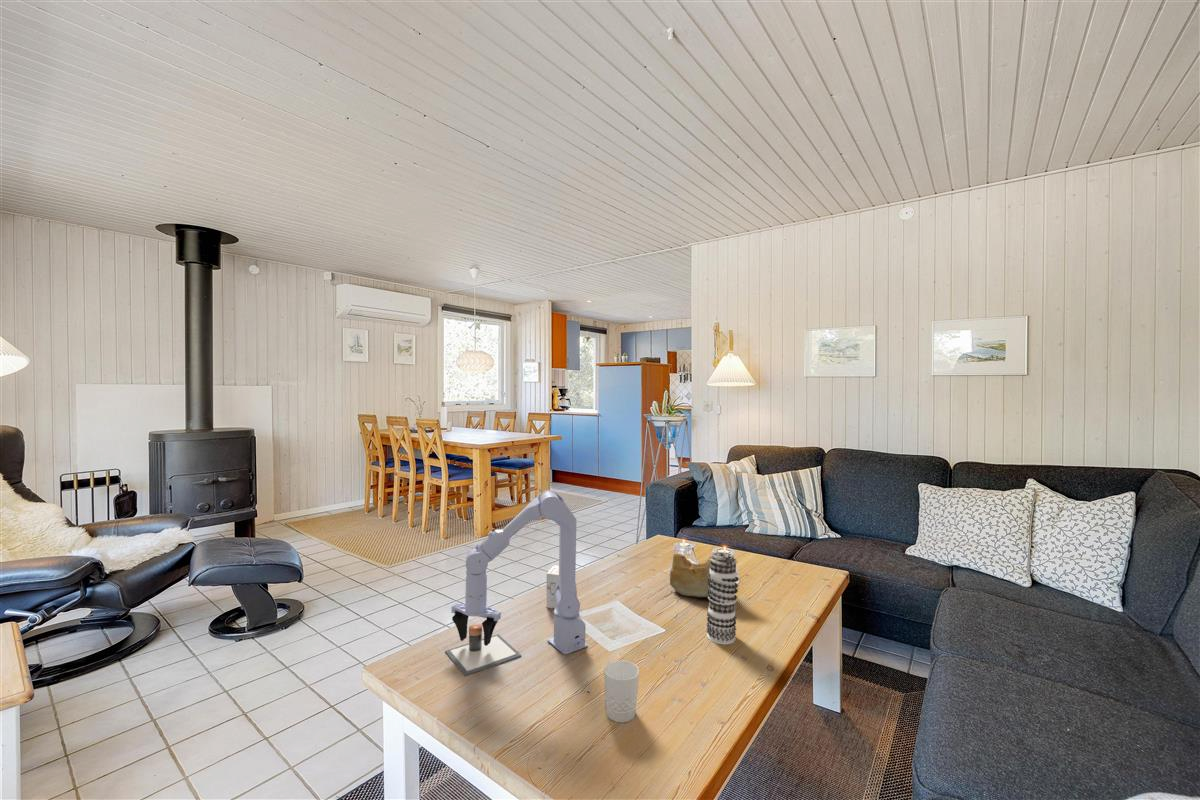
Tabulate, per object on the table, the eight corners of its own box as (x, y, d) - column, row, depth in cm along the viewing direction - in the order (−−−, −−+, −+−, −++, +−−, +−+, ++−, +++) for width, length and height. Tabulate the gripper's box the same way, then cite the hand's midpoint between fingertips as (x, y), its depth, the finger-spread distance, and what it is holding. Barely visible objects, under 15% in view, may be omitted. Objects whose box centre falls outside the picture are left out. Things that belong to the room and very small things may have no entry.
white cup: (601, 702, 116) (602, 660, 116) (635, 701, 116) (636, 659, 116) (605, 725, 108) (606, 680, 108) (640, 724, 109) (641, 679, 108)
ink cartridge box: (552, 597, 174) (553, 556, 173) (566, 599, 173) (567, 557, 172) (545, 607, 165) (546, 564, 165) (559, 609, 164) (560, 565, 164)
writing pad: (521, 656, 135) (521, 654, 135) (465, 676, 125) (465, 673, 125) (498, 635, 146) (498, 633, 146) (445, 652, 136) (445, 650, 136)
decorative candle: (739, 633, 150) (741, 552, 150) (734, 648, 142) (736, 562, 141) (709, 627, 154) (711, 547, 154) (702, 640, 146) (704, 556, 145)
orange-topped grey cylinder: (484, 648, 137) (484, 627, 137) (472, 653, 135) (473, 631, 135) (477, 643, 140) (477, 622, 140) (466, 648, 137) (466, 626, 137)
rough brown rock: (744, 597, 179) (745, 555, 180) (727, 609, 166) (728, 564, 167) (686, 583, 193) (687, 544, 194) (666, 593, 179) (667, 552, 180)
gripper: (506, 591, 138) (505, 639, 139) (461, 584, 143) (461, 630, 143) (493, 601, 132) (492, 651, 132) (447, 593, 136) (446, 642, 136)
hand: (475, 641), depth 137 cm, fingers open, 7 cm apart
